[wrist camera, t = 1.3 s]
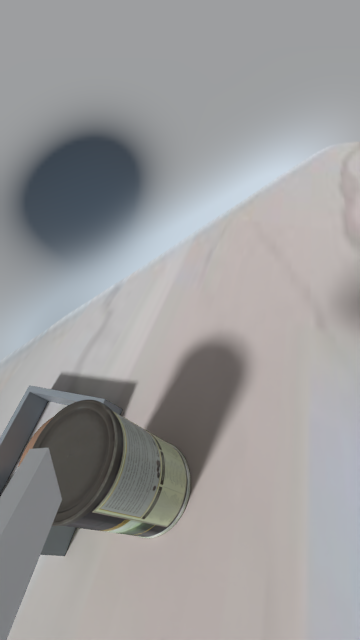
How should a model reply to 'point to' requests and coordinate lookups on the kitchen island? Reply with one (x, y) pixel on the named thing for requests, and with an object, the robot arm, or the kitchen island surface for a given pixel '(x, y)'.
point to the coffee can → (114, 472)
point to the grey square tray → (10, 445)
